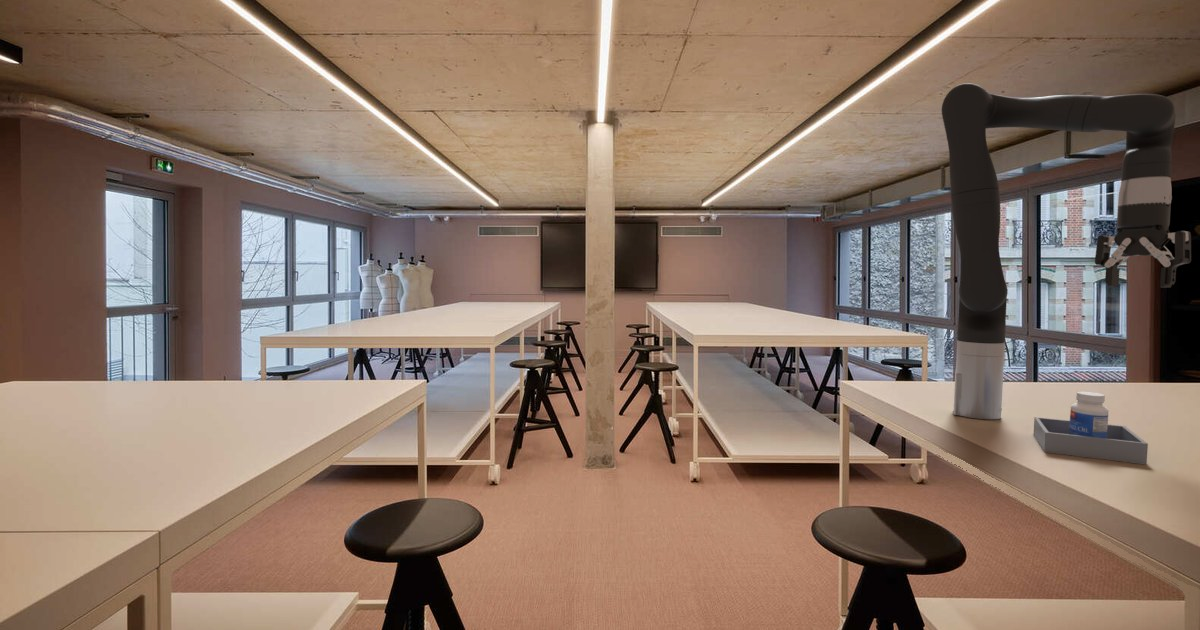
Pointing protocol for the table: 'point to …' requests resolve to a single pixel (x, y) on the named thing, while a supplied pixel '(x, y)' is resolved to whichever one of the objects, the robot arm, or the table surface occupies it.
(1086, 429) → the pill bottle
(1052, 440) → the tray
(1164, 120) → the robot arm
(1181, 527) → the table surface
